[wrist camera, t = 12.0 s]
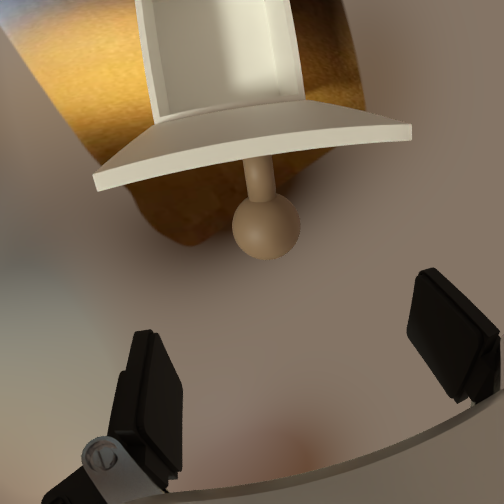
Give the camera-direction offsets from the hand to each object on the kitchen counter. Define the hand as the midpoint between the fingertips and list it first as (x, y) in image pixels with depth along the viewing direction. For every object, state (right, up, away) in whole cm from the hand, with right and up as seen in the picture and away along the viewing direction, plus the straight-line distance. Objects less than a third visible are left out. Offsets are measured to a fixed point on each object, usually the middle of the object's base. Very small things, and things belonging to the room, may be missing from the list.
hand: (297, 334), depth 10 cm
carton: (-6, +27, +20) cm, 34 cm away
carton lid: (-2, +11, +9) cm, 15 cm away
